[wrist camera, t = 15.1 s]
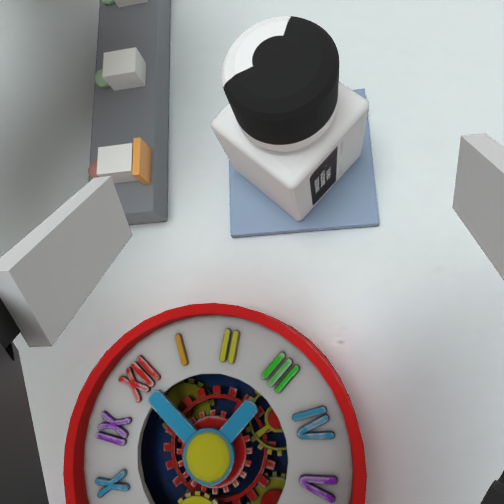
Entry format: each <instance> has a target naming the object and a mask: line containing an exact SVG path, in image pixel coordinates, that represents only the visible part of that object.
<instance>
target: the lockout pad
mask: <svg viewBox="0 0 504 504" xmlns="http://www.w3.org/2000/svg"><path fill="white" fill-rule="evenodd" d="M353 91H354V92H356V93H357V94H359V95H360V96H362V97H363V98H365V89H357V90H353ZM365 99H366V98H365ZM229 183H230V230H231V236H232V237H233V238H235V237H247V236H260V235H272V234H285V233H297V232H309V231H322V230H334V229H347V228H359V227H372V226H378V225H379V218H378V208H377V199H376V190H375V181H374V172H373V162H372V153H371V144H370V135H369V125H368V116H367V121H366V127H365V132H364V138H363V144H362V150H361V155H360V156H359V158H358V159H357V160H356V161H355V162H354V163H353V164H352V165H351V166H350V168H349V169H348V170H347V171H346V172H345V173H344V174H343V175H342V176H341V177H340V179H339V180H338V181H337V182H336V183H335V184H334V185H333V186H332V187H331V189H330V190H329V191H328V192H327V193H326V194H325V195H324V196H323V197H322V198H321V200H320V201H319V202H318V203H317V204H316V205H315V206H314V207H313V208H312V209H311V211H310V212H309V213H308V214H307V215H306V216H305V217H304V218H303V219H302V220H301V221H297V220H295V219H294V218H293V217H292V216H290V215H289V214H288V213H287V212H286V211H284V210H283V209H282V208H281V207H279V206H278V205H277V204H276V203H275V202H273V201H272V200H271V199H270V198H269V197H267V196H266V195H265V194H264V193H262V192H261V191H260V190H259V189H258V188H256V187H255V186H254V185H253V184H251V183H250V182H249V181H248V180H247V179H245V178H244V177H243V176H242V175H241V174H239V173H238V172H237V171H236V170H235V169H234V167H233V166H232V164H231V162H230V160H229Z"/></svg>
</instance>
